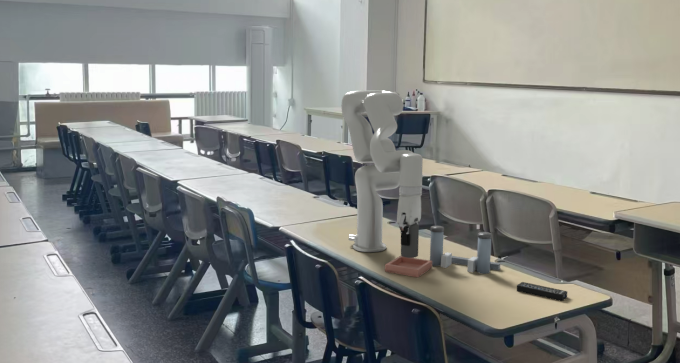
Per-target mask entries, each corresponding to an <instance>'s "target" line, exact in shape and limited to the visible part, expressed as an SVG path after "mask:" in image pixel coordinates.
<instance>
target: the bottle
mask: <svg viewBox="0 0 680 363" xmlns="http://www.w3.org/2000/svg"><path fill="white" fill-rule="evenodd" d="M416 221H418V218H416V219H415V220H414V222H415V224H413V225H411V226H410V232H409V234H410V246H405V245H401V244H400V256H402V257H406V258H418V257H419V237H420V236H419V232H420V226H419V225H420V224H419V225H418V224H416ZM404 224H407V225H408V223H404ZM404 227H406V226H404ZM406 229H407V227H406Z"/></svg>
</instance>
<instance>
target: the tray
mask: <svg viewBox="0 0 680 363" xmlns="http://www.w3.org/2000/svg"><path fill="white" fill-rule="evenodd" d="M432 268H433V265H432V261H430V259H424V258H423V259H422V258H418V257H414V258H406V257H402V256H401V255H399V256H397V257H396V258H394V259H392V260H390V261H389V262H387V263H385V264H384V272H386V273H389V274H390V273H391V274H396V275H397V274H398V275H403V276H409V277H413V278H419V277H421V276H422V275H424V274H425V273H427V272H428V271H429V270H431V269H432Z"/></svg>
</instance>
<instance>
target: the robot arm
mask: <svg viewBox="0 0 680 363" xmlns="http://www.w3.org/2000/svg"><path fill="white" fill-rule="evenodd" d="M403 110H404V101H403V98H402V97H401V96H400V94H399V93H397V92H394V91H387V90H383V89H382V90H380V89H379V90H377V89H375V90H370V89H369V90H363V89H362V90H352V91H348V92H346V93H345V94H344V95H343V96H342V99H341V113H342V117H343V119H344V122H345V124H346V126H347V129H348V132H349V136H350V142H351V146H352V151H353V156H354V159H355V161H356V162H357V163H361V164H369V165H363V166H360V167H358V168H357V170H356V171H355V175H354V183H355V187H356V198H357V199H356V200H357V202H356V204H357V207H356V211H357V213H356V216H357V218H356V221H357V222H356V224H357V225H356V226H357V227H356V234H349V235H348V241H352V242H354V243H353V244H352V248H353V249H354V250H355V251H358V252H363V253H378V252H382V251H384V250H386V249H387V245H386V243H384V242H383V220H384V219H383V218H384V217H383V214H384V212H383V208H384V207H383V206H384V205H383V204H384V203H383V200H382V198H381V196H380V195H379V194H378V191H387V190H388V191H389V190H394V189H397V188H398V187H399V191H398V192H399V193H398V195H399V197H398V203H397V213H396V223H397V224H398V227H399V230H400V231H399V233H400V246H401V245H405V246H410V234H409V232H410V226H411V225H413V224H415V222H414V220H415V219H416V218H418V221H416V224H418V225H420V221H421V218H422V196H423V163H424V162H423V156H422V155H421V154H420V153H415V152H413V151H411V150H408V149H405V150H403V149H402V150H396V146H395V144H394V142H393V141H392V139H390V137H391V136H392V135H393V134H395V133H396V132H397V130H398V123H397V120H396V118H395V116H399V115H400V114H402V112H403ZM362 114H366V115H367V118H368V120H369V121H368V120H367V119H366V117H365V116H363V115H362ZM373 132H374V133H373ZM371 164H372V165H371ZM404 223H408V225H407V224H404ZM404 226H406V227H407V229H406V227H404Z"/></svg>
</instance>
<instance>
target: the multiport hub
mask: <svg viewBox="0 0 680 363" xmlns="http://www.w3.org/2000/svg"><path fill="white" fill-rule="evenodd" d="M516 292H519V293H523V294H527V295H533V296H537V297H542V298H545V297H547V298H546V299H550V298H551V299H550V300H555V299H556V300H555V301H559V300H560V301H559V302H563V301H564V299H565V300H566V299H567V298H568V291H567V290H562V289H557V288H555V287H549V286H543V285H539V284H534V283H529V282H524V281H522V282H519V283H518V284H516Z"/></svg>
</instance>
